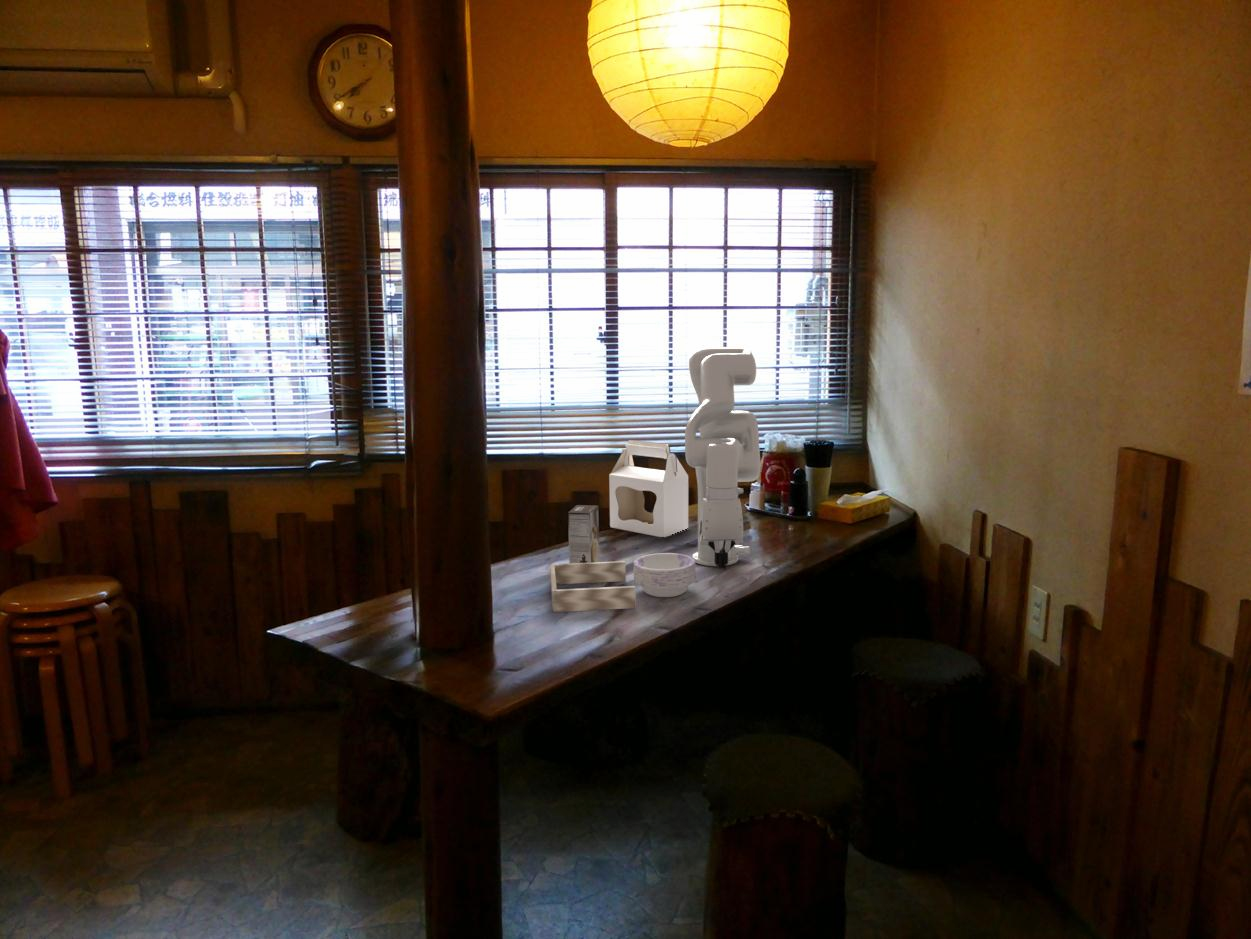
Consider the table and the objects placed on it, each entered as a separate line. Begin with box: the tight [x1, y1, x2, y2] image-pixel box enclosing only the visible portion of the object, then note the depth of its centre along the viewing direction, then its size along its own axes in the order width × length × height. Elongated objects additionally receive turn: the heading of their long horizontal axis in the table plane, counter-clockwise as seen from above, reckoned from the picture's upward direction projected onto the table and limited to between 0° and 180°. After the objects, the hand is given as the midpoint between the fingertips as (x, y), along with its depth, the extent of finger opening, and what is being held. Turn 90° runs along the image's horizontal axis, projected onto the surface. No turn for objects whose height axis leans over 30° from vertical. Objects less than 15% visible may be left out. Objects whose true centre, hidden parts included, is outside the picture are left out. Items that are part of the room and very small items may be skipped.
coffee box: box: [567, 504, 601, 564], centre depth 217 cm, size 9×6×16 cm
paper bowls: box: [632, 552, 697, 598], centre depth 197 cm, size 15×15×8 cm
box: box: [549, 560, 637, 613], centre depth 195 cm, size 19×21×5 cm
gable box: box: [608, 439, 689, 538], centre depth 256 cm, size 22×13×28 cm, turn 51°
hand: (721, 567), depth 197 cm, fingers closed
